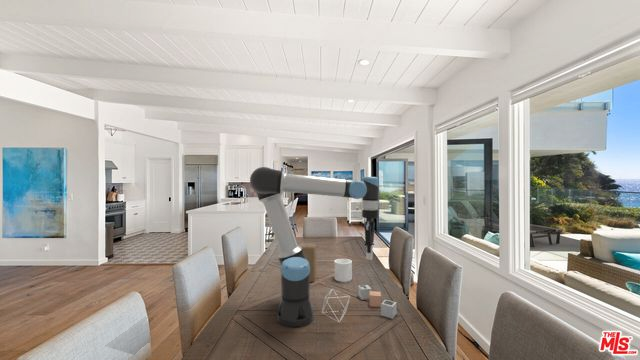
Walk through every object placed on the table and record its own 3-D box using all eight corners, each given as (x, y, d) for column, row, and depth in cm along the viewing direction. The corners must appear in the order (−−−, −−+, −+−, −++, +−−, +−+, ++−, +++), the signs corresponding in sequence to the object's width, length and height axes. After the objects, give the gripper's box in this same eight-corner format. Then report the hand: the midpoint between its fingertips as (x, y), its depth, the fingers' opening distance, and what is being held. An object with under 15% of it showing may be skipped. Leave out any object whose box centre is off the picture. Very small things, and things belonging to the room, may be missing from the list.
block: (316, 276, 164) (316, 242, 164) (314, 282, 154) (314, 246, 154) (299, 276, 165) (299, 242, 165) (296, 282, 155) (296, 246, 155)
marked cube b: (371, 299, 133) (371, 288, 133) (361, 299, 132) (361, 288, 132) (367, 295, 138) (367, 284, 138) (358, 295, 137) (358, 284, 137)
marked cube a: (392, 319, 114) (392, 306, 114) (380, 315, 117) (381, 303, 117) (396, 314, 118) (396, 301, 118) (385, 311, 121) (385, 298, 121)
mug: (353, 281, 155) (353, 263, 155) (335, 282, 155) (335, 263, 155) (349, 274, 168) (349, 257, 168) (333, 274, 167) (333, 257, 167)
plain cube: (380, 307, 124) (380, 296, 124) (369, 306, 125) (369, 295, 125) (380, 302, 129) (380, 291, 129) (369, 301, 130) (369, 291, 130)
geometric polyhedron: (317, 318, 114) (317, 296, 114) (326, 307, 124) (326, 287, 124) (346, 324, 110) (346, 301, 110) (353, 312, 120) (353, 291, 120)
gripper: (375, 211, 124) (374, 263, 124) (380, 208, 136) (379, 256, 136) (359, 210, 127) (358, 261, 127) (365, 207, 139) (364, 254, 139)
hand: (369, 259), depth 131 cm, fingers closed
